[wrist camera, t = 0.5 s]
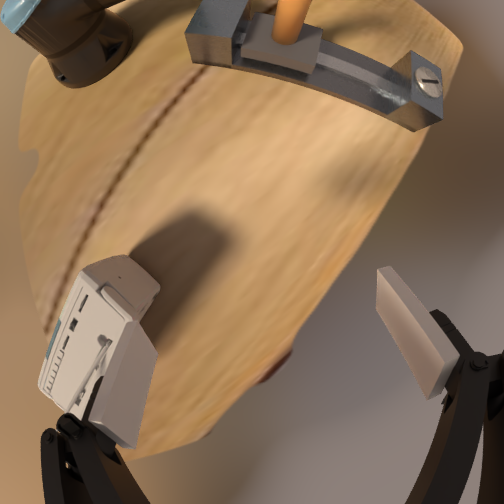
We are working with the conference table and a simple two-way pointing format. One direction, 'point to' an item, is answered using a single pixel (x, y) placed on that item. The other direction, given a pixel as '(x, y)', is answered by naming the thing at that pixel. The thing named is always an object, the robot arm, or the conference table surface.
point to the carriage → (284, 37)
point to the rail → (324, 68)
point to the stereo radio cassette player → (93, 328)
